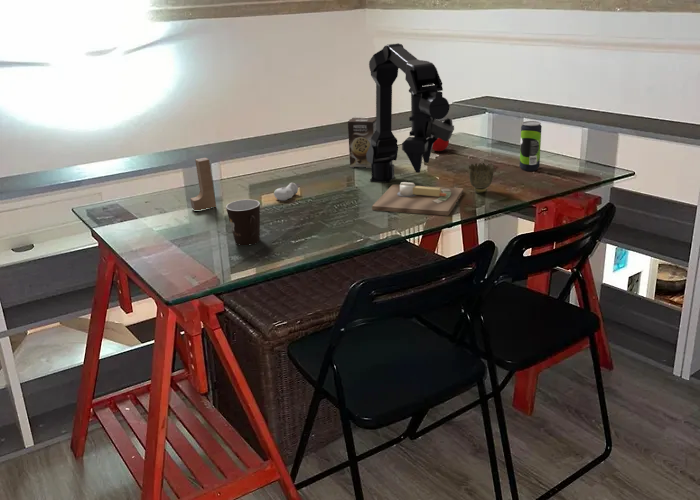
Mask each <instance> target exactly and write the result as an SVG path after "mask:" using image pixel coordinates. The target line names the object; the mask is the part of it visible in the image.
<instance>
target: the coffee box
mask: <svg viewBox="0 0 700 500" xmlns="http://www.w3.org/2000/svg"><path fill="white" fill-rule="evenodd" d="M375 131H376V117H375V118H374V117H352V118H351V119H348V121H347V133H348V153H349V155H348V156H349V167H350V168H354V167H366V168H365V169H371V163H370V162H368V161H367V158H366V153H367V151H368V149H369V147H370V144H371V137H372V136H373V134H374V132H375Z"/></svg>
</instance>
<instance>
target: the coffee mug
mask: <svg viewBox="0 0 700 500" xmlns="http://www.w3.org/2000/svg"><path fill="white" fill-rule="evenodd" d="M225 209H226V212H227V217H228V219H229V224H230V228H231V232H232V235H233V239H234V242H235V244H236V243H237V244H240V245H249V244H253V245H256V244H258V243H259V242H260V241H261V219H260V218H261V203H260V201H259V200H256V199H249V198H248V199H244V198H243V199H238V200H234V201H231V202H229V203H227V204H226V206H225ZM255 243H256V244H255ZM237 244H236V245H237ZM240 245H239V246H240ZM249 246H250V245H249Z"/></svg>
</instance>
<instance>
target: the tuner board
mask: <svg viewBox="0 0 700 500" xmlns="http://www.w3.org/2000/svg"><path fill="white" fill-rule="evenodd" d="M422 186H423V187H431V186H428V185H425V186H424V185H422ZM434 187H435V188H441V193H446V196H428V195H416V194H414V195H410V196H403V195H401V194H400V184H391V186H390V187H388V189H387V190H386V191H385V192H383V194H381V196H380V197H379V198H378V199H377V200H376V201H375V202H374V203H373V204H372V206H371V210H372V211H378V212H379V211H382V212H395V213H408V214H409V213H410V214H421V215H422V214H424V215H436V216H437V215H439V216H449V215H450V213H451V212H452V211H453V209H454V208H455V206H456V204H457V203H458V202H459V200H460V198H461V197H462V195H463V194H462V193H464V188H461V187H446V186H445V187H444V186H434ZM461 194H462V195H461ZM460 196H461V197H460ZM458 199H459V200H458ZM456 202H457V203H456Z"/></svg>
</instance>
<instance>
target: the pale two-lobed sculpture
mask: <svg viewBox="0 0 700 500" xmlns="http://www.w3.org/2000/svg"><path fill="white" fill-rule="evenodd" d="M298 191H299V188H298V186H297V184H296V183H294V182H289V184H288V185H287V186H282V187H278V188H276V189H275V190H274V192H273V195H274V197H275V198H276V199H277V200H279V201H287V200H288V199H291V198H292V197H293V196H294V195H295V196H296V194H297V193H298Z"/></svg>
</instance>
